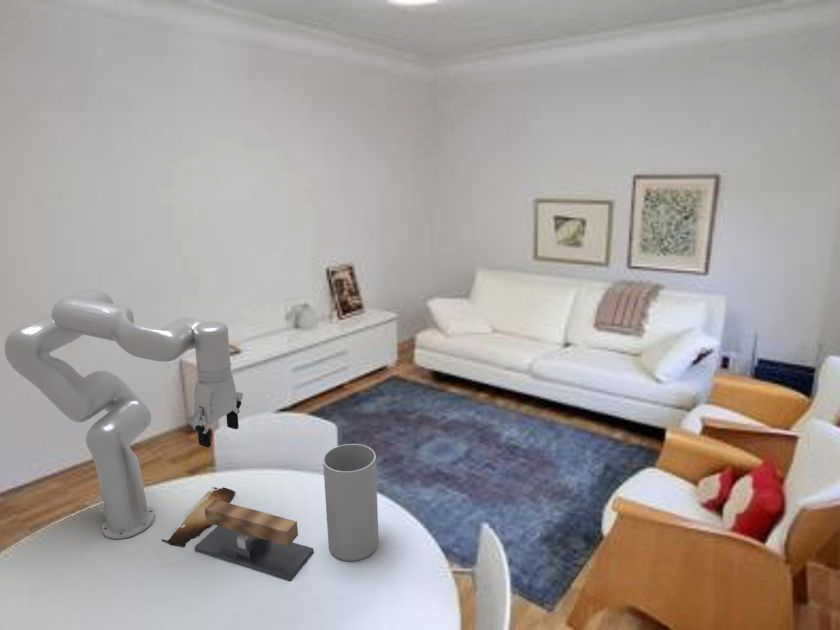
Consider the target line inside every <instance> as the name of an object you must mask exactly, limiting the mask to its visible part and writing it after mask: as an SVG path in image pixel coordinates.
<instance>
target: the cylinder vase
mask: <svg viewBox="0 0 840 630" xmlns="http://www.w3.org/2000/svg"><path fill="white" fill-rule="evenodd" d="M322 467H323V468H322V469H323V480H324V481H323V482H324V495H325V498H324V499H325V510H326V512H325V513H326V526H327V539H328V540H327V541H328V548H329V551H330V553H331V554H332V555H333V556H334V557H336V558H337V559H339V560H342V561H349V562H352V561H354V562H355V561H360V560H363V559H365V558H368V557H369V556H370V555H371V554H372V553H375V551H376V550H377V547H378V545H379V519H378V517H379V512H378V510H379V509H378V486H377V485H378V484H377V482H378V481H377V480H378V479H377V457H376V453H375V451H374V449H373V448H372V447H370V446H368V445H365V444H360V443H345V444H342V445H337V446H334V447H332V448H331V449H329V450H328V451H326V453H325V454H324V455H323V458H322Z"/></svg>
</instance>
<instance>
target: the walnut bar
mask: <svg viewBox="0 0 840 630" xmlns="http://www.w3.org/2000/svg"><path fill="white" fill-rule="evenodd" d="M205 515H206V522H207V523H209V524H212V525H214V526H216V527H217V526H220V527H223V528H227V529H230V530H234V531H237V532H241V533H244V534H248V535H251V536H254V537H258V538H261V539H265V540H268V541H272V542H275V543H279V544H282V545H286V546H289V545H290V544H291V543H292V542H293V543H294V541H295V540H296V538H297V537H298V536H299V532H298V530H299V529H298V521H296V520H293V519H288V518H285V517H282V516H278V515H274V514H271V513H267V512H263V511H259V510H256V509H252V508H249V507H245V506H241V505H237V504H234V503H230V502H229V503H227V502H223V501H219V500H215V501H214V502H212V503H211V504H210V505H209V506H208V507H206V508H205Z"/></svg>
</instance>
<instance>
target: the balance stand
mask: <svg viewBox="0 0 840 630" xmlns="http://www.w3.org/2000/svg"><path fill="white" fill-rule="evenodd" d="M193 548H194V551H195V552H196V553H199V554H202V555H207V556H209V557H213V558H217V559H220V560H223V561H225V562H228V563H232V564H235V565H238V566H241V567H245V568H248V569H251V570H254V571H258V572H260V573H264V574H266V575H270V576H273V577H276V578H279V579H283V580H286V581H289V582H291V581H292V580H293V579H294V578H295V576H296V575H297V574H298V573H299V571H301V569H302V568H303V567H304V565H305V564H306V563H307V562H308V560H309V559H310V558H311V557H312V555H313V554H314V551H315V550H314V547H310V546H307V545H303V544H299V543H296V542H294V541H293V542H292V543H291V544H290V545H289V546H286V545H282V544H279V543H275V542H272V541H268V540H265V539H261V538H258V537H254V536H251V535H248V534H244V533H241V532H237V531H234V530H230V529H227V528H223V527H220V526H216V527H215V528H214V529H213V530H212V531H210V532H209V533H208V534H207V535H206V536H205V537H204V538H202V539H201V540H200V541H199V542H198V543H197V544H196V545H195V546H194V547H193Z"/></svg>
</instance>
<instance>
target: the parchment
mask: <svg viewBox="0 0 840 630" xmlns="http://www.w3.org/2000/svg"><path fill="white" fill-rule="evenodd" d="M212 489H214V490H212V491H208V492H206V493H205V494H204V495H203V496H202V497H201V499H199V500H198V502H196V503H195V504H194V505H193V507H191V509H190V510H189V511H187V513H186V514H185V515H184V517H185V518H184V522H181V525H180V527H177V529H176V530H175V531H174V532H173V533H172V535H171V536H170V537H169V539H167V540H166V539H163V538H162V539H161V540H162V541H163V542H166V543H167V544H170V545H171V546H172V545H173V546H180V547H186V546H187V544H188V543H189V542H190V541H191V540H194V539H196V538H199V537H200V536H201V534H203V532H204V531H206V530H207V529H210V527H211V526H212V525H213V524H209V523H207V522H206V515H205V508H206V507H208V506H209V505H210V504H211V503H212V502H214V501H215V500H219V501H223V502H227V503H230V501H232V499H233V498H234V496H235V495H236V491H235V490H233V489H230V488H227V487H224V486H222V487H221V488H218V487H212Z"/></svg>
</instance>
